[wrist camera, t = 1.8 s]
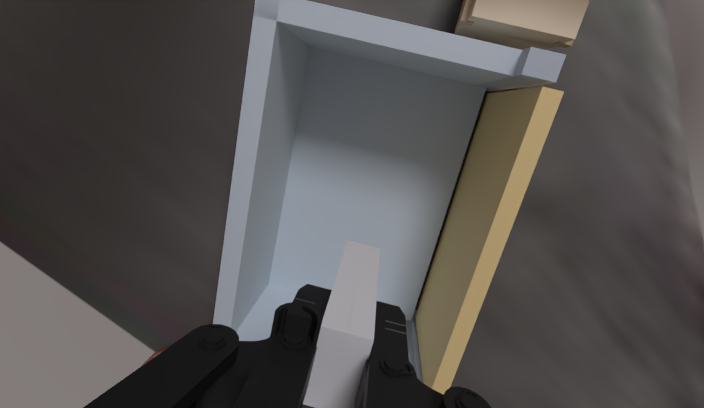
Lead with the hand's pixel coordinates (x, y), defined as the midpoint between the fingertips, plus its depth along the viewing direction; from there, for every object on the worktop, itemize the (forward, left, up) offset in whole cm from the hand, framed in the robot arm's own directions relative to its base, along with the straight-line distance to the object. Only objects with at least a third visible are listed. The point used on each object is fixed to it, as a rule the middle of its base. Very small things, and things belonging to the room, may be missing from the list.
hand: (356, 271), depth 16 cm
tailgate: (0, +7, -13) cm, 15 cm away
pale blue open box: (0, -1, -14) cm, 14 cm away
